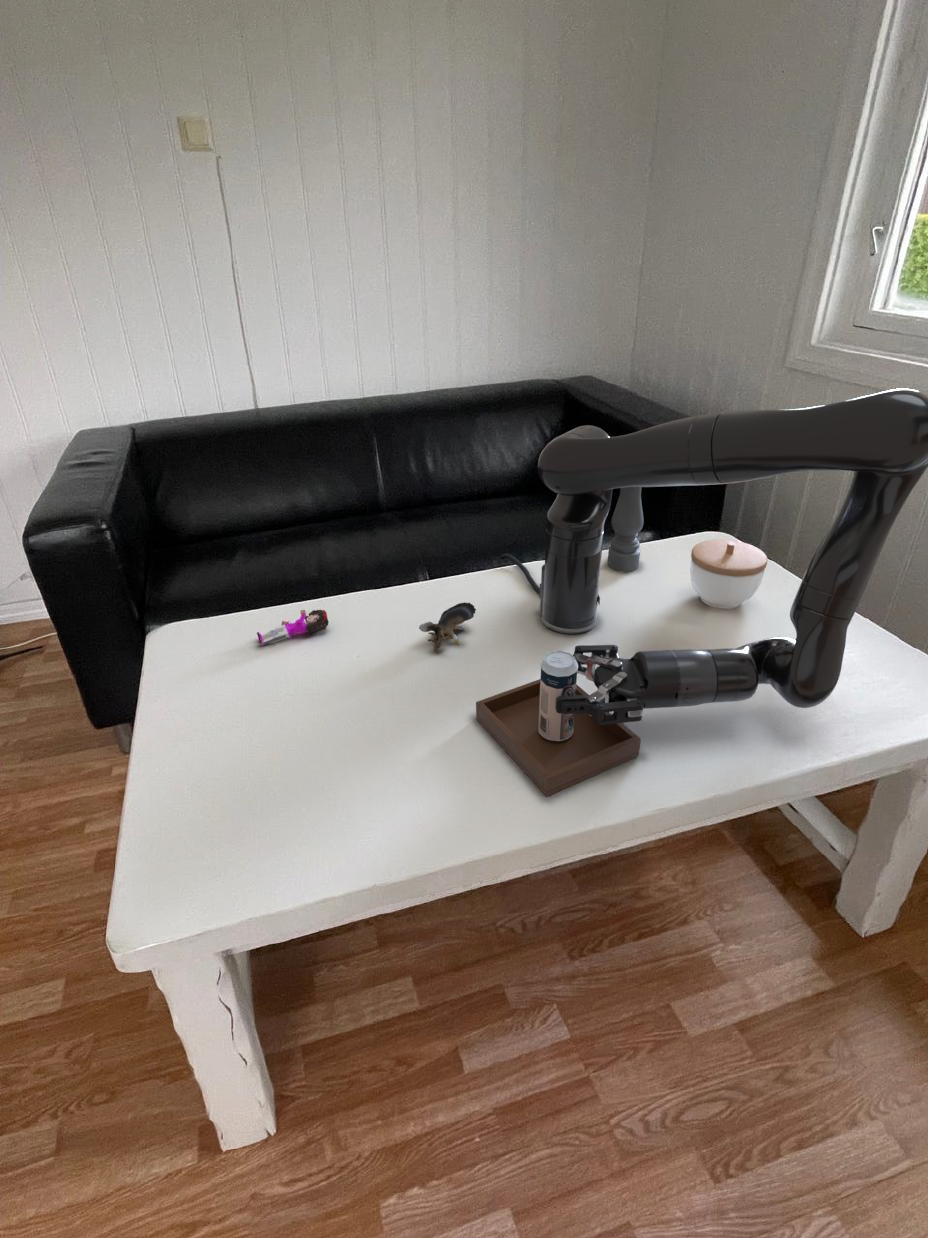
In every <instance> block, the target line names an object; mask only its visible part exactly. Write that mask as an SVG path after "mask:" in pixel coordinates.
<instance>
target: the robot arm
mask: <svg viewBox="0 0 928 1238" xmlns="http://www.w3.org/2000/svg"><path fill="white" fill-rule="evenodd" d="M927 469H928V394H926V393H925V392H922V391H919V390H916V389H909V388H896V389H894V388H893V389H890V390H886V391H881V392H878V393H874V394H870V395H865V396H860V397H857V398H852V399H847V400H843V401H838V402H834V403H828V404H823V405H818V406H812V407H806V408H795V409H793V408H792V409H748V410H747V409H746V410H734V411H723V412H714V413H707V414H706V413H705V414H699V415H693V416H689V417H684V418H680V419H676V420H671V421H667V422H664V423H660V424H657V425H654V426H650V427H648V428H645V429H644V428H643V429H641V430H638V431H635V432H632V433H631V432H630V433H628V434H627V433H626V434H624V435H618V436H617V435H616V436H609V434H608V433H607V432H606V431H605V430H604V429H602V428H601V427H598V426H595V425H589V424H587V425H586V424H585V425H581V426H577V427H575V428H573V429H571V430H569V431H567V432H565V433H563V434H561V435H558V436H556V437H555V438H553V439H552V440H551V441H549V442H548V443H547V444H546V445H545V447H544V448H543V449H542V451H541V453H540V454H539V457H538V460H537V473H538V476H539V478H540V480H541V481H542V482H541V483H543V484H544V486H546V488H548V489H549V490H550V491H552V492H554V493H555V494H556V498H555V499H554V501H553V503H552V505H551V506H550V508H549V509H548V511H547V514H546V521H545V523H546V524H545V526H546V527H545V549H544V551H545V552H544V564H542V566H541V573H540V574H541V575H540V577H541V578H540V581H541V582H540V583H539V585H538V584H537V582H536V581H535V579H534V578H533V577H532V575H531V573H530V571H529V569H528V568H527V567H526V566H525V565H524V564H523V563H522V562H521V561H520V560H519V559H518V558H516V557H514V555H512V554H510V553H503V554H501V555H499V557H498V559H500V560H504V559H507V560H510V561H511V562H512V563H513V564H515V566H516V567H518V568H519V569H520V570H521V571H522V572H523V574H524V576H525V578H526V579H527V581H528V583H529V584H530V586H531V587H532V588H533V590H534V591H535V592H536V593H538V595H539V599H540V603H539V604H540V605H539V614H540V615H541V622H542V623H543V625H544V626H545V627H546V628H548V629H549V630H551V631H554V632H556V633H559V634H560V633H561V634H567V635H573V634H574V635H575V634H576V635H577V634H582V633H586V632H588V631H590V630H593V628H594V627H595V626H596V624H597V620H598V616H597V611H598V605H600V604H601V603H600V602H601V597H600V595H599V591H600V589H599V588H600V579H601V568H602V567H601V566H602V557H603V556H602V555H603V553H602V552H603V544H604V543H603V540H604V532H605V531H604V530H605V524H606V520H607V517H608V515H609V512H610V509H611V505H612V498H613V492H614V491H613V490H615V489H616V490H617V489H621V488H624V487H641V488H657V487H658V488H660V487H661V488H662V487H663V488H664V487H683V486H685V487H686V486H710V485H711V486H712V485H713V486H715V485H730V484H738V483H745V482H751V481H758V480H763V479H764V480H765V479H769V478H772V477H777V476H781V475H786V474H791V473H798V472H812V471H813V472H815V471H818V472H819V471H822V472H823V471H830V472H832V471H833V472H853V476H852V479H851V482H850V485H849V488H848V491H847V493H846V495H845V498H844V500H843V502H842V504H841V506H840V508H839V511H838V512H837V514H836V516H835V518H834V519H833V521H832V523H831V525H830V527H829V529H828V530H827V532H826V534H825V536H824V537H823V539H822V540H821V542H820V544H819V545H818V547H817V549H816V551H815V553H814V554H813V556H812V558H811V559H810V562H809V564H808V566H807V568H806V570H805V573H804V575H803V577H802V579H801V582H800V584H799V587H798V589H797V590H796V591H797V592H796V594H795V597H794V599H793V602H792V603H791V607H790V611H789V619H790V621H791V624H792V625H793V627H794V629H795V638H794V637H787V636H774V637H768V638H763V639H760V640H757V641H753V642H749V643H747V644H744V645H741V646H738V647H736V648H711V649H696V648H678V649H677V648H676V649H656V650H640V651H637V652H635V653H634V655H633V656H632V657H631V658H623V657H622V658H621V657H619V654H618V653H619V646H618V645H617V644H586V645H585V644H584V645H583V644H581V645H575V646H574V651H573V653H572V655H573V656H574V657H575V660H576V661H577V663H578V670H577V674H579V675H581V676H584V677H585V678H586V680H588V681H590V682H593V684H594V686H595V687H596V688H597V690H595V691H594V692H593V693H591V694H589V696H588V698H586V695H572V696H558V697H557V698H556V705H555V708H556V712H557V713H559V714H560V713H562V714H579V713H587V715H589V716H592V717H593V718H594V719H595V723H596V724H597V725H606V724H616V723H623V724H625V723H636V722H641V721H642V719H643V714H644V710H647V709H663V708H665V709H666V708H682V707H694V706H701V705H704V704H705V705H706V704H716V703H717V704H718V703H730V702H731V703H734V702H743V701H746V700H748V699H751V698H752V697H753V696H754V695H755V694H756V692H757V690H758V687H759V685H770V686H771V687H772V688H773V689H774V690H775V691H776V692H777V694H778V695H779V696H780V697H781V698H782V699H783V700H785V702H787V703H788V704H790V705H791V706H793V707H796V708H799V709H810V708H813V707H816V706H818V705H820V704H822V703H823V702H825V701H826V700H827V699H828V698H829V697H830V696H831V694H833V691H834V690H835V688H836V686H837V684H838V682H839V679H840V676H841V672H842V666H843V660H844V659H843V658H844V654H845V649H846V645H847V644H846V643H847V633H848V628H849V625H850V624H851V623H852V622H851V621H852V620H853V618H854V616H855V613H856V611H857V609H858V607H859V604H860V603H861V600H862V599H863V595H864V593H865V591H866V588H867V587H868V584H869V581H870V579H871V577H872V574H873V572H874V570H875V568H876V565H877V562H878V560H879V557H880V555H881V552H882V550H883V548H884V546H885V544H886V541H887V539H888V536H889V535H890V533H891V530H892V528H893V526H894V524H895V522H896V520H897V518H898V517H899V514H900V513H901V510H902V509H903V508H904V505H905V503H906V502H907V500H908V498H909V497H910V495H911V494H912V492H913V490H914V489H915V487H916V486H917V484H918V482H920V479H921V478H922V477H923V475H924V474H925V472H926V471H927ZM586 654H591V655H590V656H589V655H586ZM583 665H584V666H583ZM596 666H597V667H596ZM605 712H610V713H611V712H612V713H611V714H612V715H605Z"/></svg>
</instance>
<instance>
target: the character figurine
mask: <svg viewBox="0 0 928 1238" xmlns="http://www.w3.org/2000/svg"><path fill="white" fill-rule="evenodd" d="M329 623H330V622H329V619H328V613H327V611H326V610H325V609H313V610H312V611H310V612H308V615H307V611H306V610H305V609H301V610H300V617H299V619H296V620H295V621H294V622H291V621H290V620H288V621H287V620H281V625H279V626H277V627H274V628H273V629H271V630H269V631H267V632H265V633H263V634H262V633H260V632H259V631H257V632H256V635H257V638H258V641H259V644H260V646H261V647H264V646H266V645H269V644H274V643H276V642H279V641H282V640H285V639H291V638H292V637H293V635H295V634H299V635H300V634H301V635H302V634H305V633H307V634H308V636H312V635H316V634H319V633H320V632H322V631H323V630H327V626H329Z"/></svg>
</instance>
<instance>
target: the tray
mask: <svg viewBox="0 0 928 1238" xmlns="http://www.w3.org/2000/svg"><path fill="white" fill-rule="evenodd" d="M540 679H541V678H538V679H536V680H533V681H531V682H527V683H525V684H521V685H520V686H516V687H514V688H510V689H508V690H505V691H503V692H500V693H497V694H494V695H491V696H489V697H486V698H483V699H479V700H477V701H475V719H476V720H477V721H478V723H479V724H480V725H481V726H482V727H483V728H484V729H485V730H486V731H487V733H488V734H489V735H490V736H491V737H492V738H493V740H495V742H497V744H498V745H499V746H500V747H501V748H502V749H503V750H504V751H505V752H506V753H507V755H508V756H509V757H510V758H511V759H512V760H513V761H514V762H515V764H517V766H518V767H519V768H520V769H521V770H522V771H523V773H524V774H526V775H527V776H528V778H529V779H530V781H532V782H533V783H534V784H535V786H536V787H537V788H538V789H539V790H540V791H541V792H542V793H543V794H544V795H545V797H549V796H552V795H555V794H556V793H558V792H561V791H563V790H565V789H567V788H570V787H572V786H575V785H576V784H579V783H581V782H583V781H585V780H588V779H591V778H593V777H595V776H597V775H600V774H601V773H604V772H606V771H608V770H610V769H613V768H615V767H618V766H620V765H622V764H623V763H626V762H629V761H631V760H633V759H635V758H638V757H639V756H640V749H641V742H642V738H641V737H640V736H639V735H637V734H636V732H634V731H632V730H631V729H630V728H629V726H626V724H625V723H616V724H606V725H597V724H596V723H595V719H594V718H593V717H592V716H589V715H587V713H579V714H574V722H573V734H572V736H571V737H569V738H568V739H566V740H563V741H551V740H548V739H546V738H544V737H543V736H541V734H540V733H539V731H538V726H539V703H540ZM576 695H586V698H588V696H589V695H590V694H589V693H588V692H587V691H585V689H583V688H581V686H579V685H578V684H577V683H576ZM612 714H613V713H611V712H605V715H612Z"/></svg>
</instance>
